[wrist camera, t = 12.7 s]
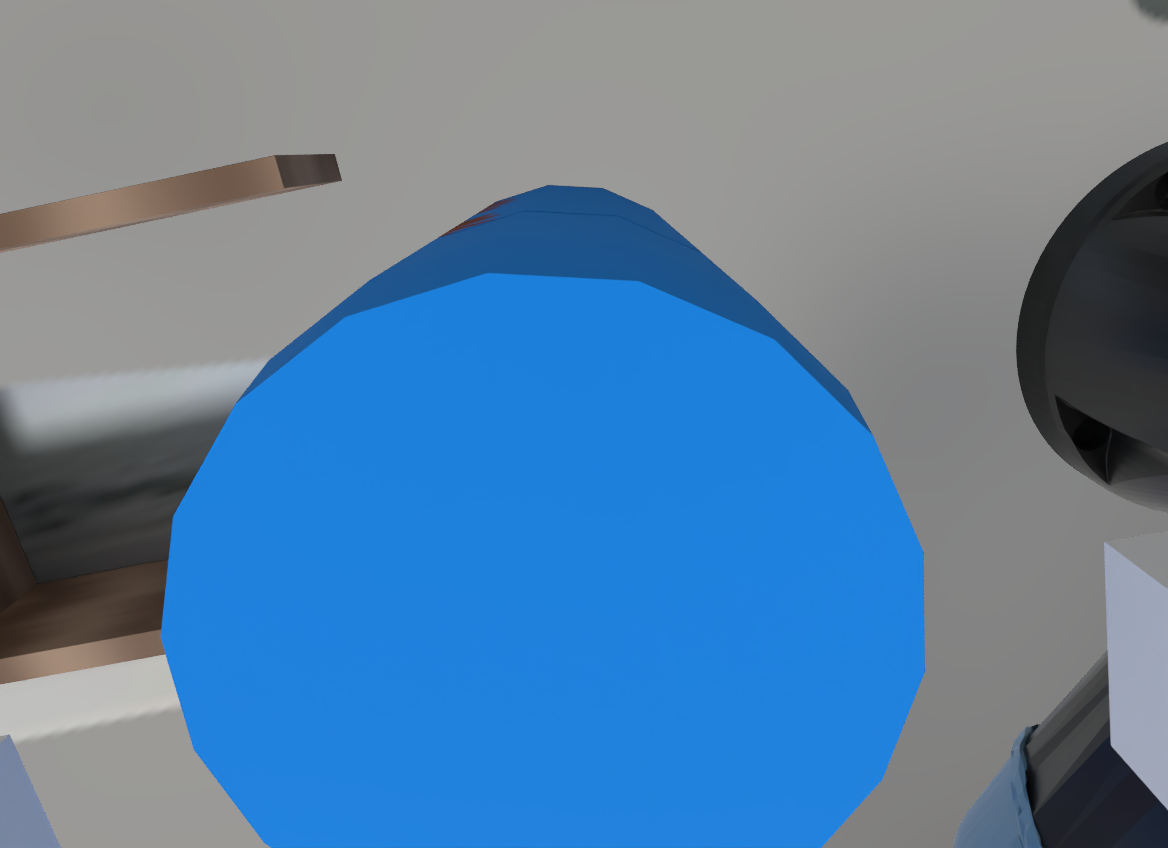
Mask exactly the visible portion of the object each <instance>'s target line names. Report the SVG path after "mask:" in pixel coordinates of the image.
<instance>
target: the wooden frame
mask: <svg viewBox="0 0 1168 848" xmlns="http://www.w3.org/2000/svg"><path fill="white" fill-rule="evenodd" d="M337 181H342V179H341V176H340V172H339V168H338V164H337V161H336V157H335V154H318V155H274V156H269V157H265V158H260V159H256V160H251V161H246V162H241V163H237V164H232V165H227V166H223V167H218V168H213V169H209V170H204V171H199V172H195V173H190V174H185V175H181V176H176V177H171V178H167V179H162V180H157V181H153V182H148V183H143V184H138V185H134V186H129V187H125V188H120V189H115V190H111V191H106V192H101V193H96V194H92V195H87V196H83V197H78V198H73V199H68V200H64V201H59V202H55V203H50V204H45V205H41V206H36V207H31V208H27V209H22V210H17V211H12V212H8V213H3V214H0V253H2V252H6V251H11V250H16V249H20V248H25V247H30V246H34V245H39V244H44V243H49V242H54V241H58V240H63V239H68V238H73V237H77V236H82V235H87V234H91V233H96V232H101V231H106V230H110V229H115V228H120V227H124V226H129V225H134V224H139V223H143V222H148V221H153V220H157V219H163V218H167V217H172V216H177V215H181V214H186V213H191V212H195V211H200V210H205V209H209V208H214V207H219V206H224V205H229V204H233V203H238V202H242V201H247V200H252V199H257V198H261V197H266V196H271V195H276V194H281V193H285V192H290V191H295V190H300V189H304V188H309V187H314V186H319V185H323V184H328V183H333V182H337ZM168 560H169V559H167V560H162V561H157V562H151V563H146V564H141V565H135V566H130V567H125V568H120V569H114V570H109V571H104V572H98V573H93V574H88V575H82V576H77V577H72V578H67V579H61V580H56V581H51V582H45V583H40V584H37V582H36V580H35V578H34V575H33V573H32V571H31V568H30V566H29V564H28V561H27V559H26V556H25V554H24V552H23V549H22V547H21V545H20V542H19V540H18V538H17V535H16V533H15V531H14V528H13V526H12V523H11V521H10V519H9V516H8V514H7V512H6V509H5V507H4V505H3V502H2V500H1V498H0V684H5V683H10V682H16V681H21V680H27V679H32V678H38V677H43V676H49V675H54V674H60V673H65V672H71V671H76V670H82V669H87V668H93V667H98V666H104V665H109V664H114V663H120V662H125V661H131V660H136V659H142V658H147V657H153V656H158V655H164V654H165V650H164V647H163V644H162V640H161V628H162V618H163V609H164V599H165V589H166V580H167V570H168Z"/></svg>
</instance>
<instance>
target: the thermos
mask: <svg viewBox="0 0 1168 848" xmlns="http://www.w3.org/2000/svg"><path fill="white" fill-rule="evenodd" d="M161 640H162V644H163V647H164V650H165V654H166V657H167V660H168V664H169V667H170V671H171V674H172V677H173V681H174V684H175V687H176V691H177V694H178V697H179V701H180V704H181V708H182V711H183V714H184V718H185V721H186V724H187V728H188V731H189V734H190V737H191V741H192V745H193V748H194V750H195V752H196V753H197V754H198V756H199V757H200V758H201V760H202V761H203V762H204V764H205V765H206V766H207V768H208V769H209V770H210V771H211V773H212V774H213V775H214V777H215V778H216V779H217V781H218V782H219V783H220V785H221V786H222V787H223V789H224V790H225V791H226V793H227V794H228V795H229V797H230V798H231V799H232V801H233V802H234V803H235V805H236V806H237V807H238V809H239V810H240V811H241V813H242V814H243V815H244V817H245V818H246V819H247V821H248V822H249V823H250V824H251V826H252V827H253V828H254V830H255V831H256V832H257V834H258V835H259V836H260V838H261V839H262V840H263V842H264V843H265V844H267V845H268V846H270V847H271V848H821V847H822V846H823V845H824V844H825V843H826V842H827V841H828V839H829V838H830V837H831V836H832V835H833V834H834V833H835V832H836V831H837V829H838V828H839V827H840V826H841V825H842V824H843V823H844V822H845V821H846V819H847V818H848V817H849V816H850V815H851V814H852V813H853V812H854V810H855V809H856V808H857V807H858V806H859V805H860V803H862V801H863V800H864V799H865V798H866V797H867V796H868V795H869V794H870V792H871V791H872V790H873V789H874V788H875V787H876V786H877V785H878V784H879V782H880V781H881V780H882V779H883V776H884V774H885V771H886V769H887V766H888V764H889V761H890V758H891V756H892V753H893V751H894V748H895V746H896V743H897V741H898V738H899V736H900V733H901V730H902V728H903V726H904V723H905V720H906V718H907V715H908V713H909V710H910V708H911V705H912V703H913V700H914V698H915V695H916V693H917V690H918V688H919V685H920V683H921V680H922V678H923V675H924V672H925V654H924V653H925V652H924V651H925V647H924V552H923V550H922V548H921V546H920V543H919V541H918V539H917V536H916V534H915V532H914V529H913V527H912V525H911V522H910V520H909V518H908V515H907V513H906V511H905V509H904V507H903V504H902V502H901V499H900V497H899V495H898V492H897V490H896V488H895V485H894V483H893V481H892V479H891V476H890V474H889V472H888V469H887V467H886V465H885V462H884V460H883V458H882V455H881V453H880V451H879V448H878V446H877V444H876V442H875V439H874V437H873V435H872V433H871V431H870V429H869V428H868V426H867V424H866V422H865V420H864V419H863V417H862V415H861V413H860V411H859V409H858V408H857V406H856V404H855V402H854V400H853V399H852V397H851V395H850V393H849V391H848V390H847V389H846V388H845V387H844V386H843V385H842V384H841V383H840V382H839V381H838V380H837V379H836V378H835V377H834V376H833V375H832V374H831V373H830V372H829V371H828V370H827V369H826V368H825V367H824V366H823V365H822V364H821V363H820V362H819V361H818V360H817V359H816V358H815V357H814V356H813V355H812V354H811V353H810V352H809V351H808V350H807V349H806V348H805V347H804V346H803V345H802V344H800V342H799V341H798V340H797V339H796V338H794V337H793V336H792V335H791V334H790V333H789V332H788V331H787V330H786V329H785V328H784V327H783V326H782V325H781V324H780V323H779V322H778V321H777V320H776V319H775V318H774V317H773V316H772V315H771V314H770V313H769V312H768V311H767V310H766V309H765V308H764V307H763V306H762V305H761V304H760V303H759V302H758V301H757V300H756V299H754V298H753V297H752V296H751V295H750V294H749V293H748V292H746V291H745V290H744V289H743V288H742V287H741V286H739V285H738V284H737V283H736V282H735V281H734V280H732V279H731V278H730V277H729V276H728V275H727V274H726V273H724V272H723V271H722V270H721V269H720V268H719V267H717V266H716V265H715V264H714V263H713V262H712V261H711V260H709V259H708V258H707V257H706V256H705V255H704V254H702V253H701V252H700V251H699V250H698V249H697V248H696V247H695V246H693V245H692V244H691V243H690V242H689V241H688V240H686V239H685V238H684V237H683V236H682V235H681V234H680V233H678V232H677V231H676V230H675V229H674V228H673V227H671V226H670V225H669V224H668V223H667V222H666V221H665V220H663V219H662V218H661V217H660V216H659V215H658V214H656V213H655V212H654V211H653V210H651V209H649V208H647V207H644V206H642V205H640V204H638V203H635V202H633V201H631V200H628V199H626V198H624V197H622V196H619V195H617V194H615V193H613V192H610V191H608V190H606V189H603V188H590V187H572V186H554V185H547V186H544V187H541V188H538V189H535V190H532V191H528V192H525V193H522V194H519V195H516V196H512V197H509V198H506V199H503V200H500V201H497V202H495V203H493V204H492V205H490V206H489V207H487V208H485V209H484V210H482V211H480V212H479V213H477V214H476V215H474V216H472V217H471V218H469V219H468V220H466V221H464V222H463V223H461V224H460V225H458V226H456V227H455V228H453V229H451V230H450V231H448V232H447V233H445V234H444V235H442V236H440V237H439V238H437V239H436V240H434V241H432V242H431V243H429V244H428V245H426V246H424V247H423V248H421V249H419V250H418V251H417V252H415V253H413V254H411V255H410V256H408V257H406V258H405V259H403V260H402V261H400V262H398V263H397V264H395V265H394V266H392V267H390V268H389V269H387V270H385V271H384V272H383V273H381V274H379V275H377V276H376V277H374V278H373V279H371V280H369V281H368V282H367V283H366V284H364V285H363V286H362V287H361V288H359V289H358V290H357V291H356V292H354V293H353V294H352V295H351V296H349V297H348V298H347V299H346V300H344V301H343V302H342V303H340V304H339V305H338V306H337V307H335V308H334V309H333V310H332V311H331V312H329V313H328V314H327V315H325V316H324V317H323V318H322V319H320V320H319V321H318V322H317V323H315V324H314V325H313V326H312V327H310V328H309V329H308V330H307V331H305V332H304V333H303V334H302V335H300V336H299V337H298V338H297V339H295V340H294V341H293V342H292V343H290V344H289V345H288V346H286V347H285V348H284V349H283V350H282V351H280V352H279V353H278V354H277V355H275V356H274V357H273V358H271V359H270V360H269V361H268V362H267V364H266V365H265V366H264V368H263V369H262V370H261V372H260V373H259V374H258V375H257V377H256V378H255V379H254V381H253V382H252V383H251V385H250V386H249V387H248V388H247V390H246V391H245V392H244V394H243V395H242V396H241V398H240V399H239V400H238V402H237V403H236V404H235V406H234V408H233V410H232V411H231V413H230V415H229V417H228V419H227V420H226V422H225V424H224V426H223V428H222V429H221V431H220V433H219V435H218V437H217V438H216V440H215V442H214V444H213V446H212V447H211V449H210V451H209V453H208V455H207V456H206V458H205V460H204V462H203V464H202V465H201V467H200V469H199V471H198V473H197V474H196V476H195V478H194V480H193V482H192V483H191V485H190V487H189V489H188V491H187V492H186V494H185V496H184V498H183V499H182V501H181V503H180V505H179V507H178V508H177V510H176V512H175V514H174V516H173V522H172V531H171V541H170V551H169V560H168V570H167V580H166V589H165V599H164V609H163V618H162V628H161Z"/></svg>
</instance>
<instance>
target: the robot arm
mask: <svg viewBox="0 0 1168 848" xmlns="http://www.w3.org/2000/svg"><path fill="white" fill-rule="evenodd" d="M1016 347H1017V348H1016V354H1017V368H1018V376H1019V381H1020V386H1021V390H1022V393H1023V397H1024V400H1025V403H1026V406H1027V408H1028V411H1029V413H1030V415H1031V417H1032V419H1033V421H1034V423H1035V425H1036V427H1037V428H1038V430H1039V431H1040V433H1041V435H1042V436H1043V437H1044V439H1045V440H1046V441H1047V443H1048V444H1049V445H1050V446H1051V447H1052V449H1053V450H1054V451H1055V452H1056V453H1057V454H1058V455H1059V456H1060V457H1061V458H1062V459H1063V460H1064V461H1066V462H1067V463H1068V464H1069V465H1071V466H1072V467H1073V468H1074V469H1076V470H1077V471H1079V472H1080V473H1082V474H1084V475H1086V476H1087V477H1088V478H1090V479H1091V480H1093V481H1094V482H1096V483H1097V484H1099V485H1101V486H1102V487H1104V488H1105V489H1107V490H1108V491H1110V492H1112V493H1114V494H1116V495H1118V496H1120V497H1122V498H1124V499H1126V500H1129V501H1131V502H1133V503H1136V504H1139V505H1142V506H1144V507H1148V508H1150V509H1154V510H1158V511H1162V512H1167V513H1168V142H1166V143H1164V144H1162V145H1159V146H1157V147H1155V148H1153V149H1151V150H1149V151H1147V152H1145V153H1143V154H1141V155H1139V156H1138V157H1136V158H1134V159H1132V160H1131V161H1129V162H1127V163H1126V164H1124V165H1123V166H1122V167H1120V168H1119V169H1117V170H1116V171H1114V172H1113V173H1112V174H1110V175H1109V176H1108V177H1107V178H1105V179H1104V180H1103V181H1102V182H1100V183H1099V184H1098V185H1097V186H1096V187H1095V188H1094V189H1092V190H1091V191H1090V192H1089V193H1088V194H1087V195H1086V196H1085V197H1084V198H1083V199H1082V200H1081V201H1080V202H1079V203H1078V204H1077V205H1076V206H1075V208H1074V209H1073V210H1072V211H1071V212H1070V213H1069V214H1068V216H1067V217H1066V218H1065V219H1064V221H1063V222H1062V223H1061V225H1060V226H1059V227H1058V229H1057V230H1056V232H1055V233H1054V235H1053V236H1052V238H1051V239H1050V241H1049V242H1048V244H1047V246H1046V247H1045V249H1044V251H1043V253H1042V254H1041V256H1040V259H1039V260H1038V263H1037V264H1036V266H1035V269H1034V271H1033V273H1032V276H1031V278H1030V281H1029V284H1028V287H1027V290H1026V292H1025V295H1024V299H1023V303H1022V307H1021V311H1020V316H1019V322H1018V330H1017V346H1016ZM1104 553H1105V583H1106V584H1105V585H1106V613H1107V614H1106V615H1107V645H1108V650H1107V651H1106V652H1105V653H1104V654H1103V655H1102V657H1101V658H1100V659H1099V660H1098V661H1097V662H1096V663H1095V665H1094V666H1093V667H1092V668H1091V669H1090V670H1089V671H1088V672H1087V674H1086V675H1085V676H1084V677H1083V678H1082V679H1081V681H1080V682H1079V683H1078V684H1077V685H1076V686H1075V687H1074V689H1073V690H1072V691H1071V692H1070V693H1069V694H1068V695H1067V696H1066V697H1065V698H1064V699H1063V701H1062V702H1061V703H1060V704H1059V705H1058V706H1057V707H1056V708H1055V709H1054V710H1053V712H1052V713H1051V714H1050V715H1049V716H1048V717H1047V718H1046V719H1045V720H1044V721H1043V722H1042V724H1041V725H1040V724H1037V725H1034V726H1032V727H1026V728H1025V729H1024V730H1023V732H1021V733H1020V734H1019V736H1018V737H1017V739H1016V740H1015V741H1014V744H1013V747H1012V751H1011V757H1010V758H1009V760H1008V761H1007V762H1006V763H1005V765H1004V766H1003V767H1002V768H1001V770H1000V771H999V772H998V774H997V775H996V776H995V777H994V779H993V780H992V781H991V782H990V784H989V785H988V786H987V788H986V789H985V790H984V791H983V793H982V794H981V795H980V796H979V798H978V799H977V800H976V802H975V803H974V804H973V806H972V807H971V808H970V809H969V811H968V812H967V814H966V815H965V817H964V819H963V820H962V822H961V824H960V826H959V829H958V832H957V834H956V837H955V842H954V847H953V848H1168V530H1166V531H1160V532H1155V533H1149V534H1143V535H1138V536H1132V537H1127V538H1121V539H1115V540H1109V541H1104ZM0 848H61V847H60V845H59V843H58V840H57V838H56V836H55V834H54V832H53V829H52V828H51V825H50V823H49V821H48V818H47V816H46V814H45V812H44V810H43V807H42V805H41V803H40V801H39V799H38V797H37V794H36V792H35V790H34V788H33V785H32V783H31V781H30V779H29V777H28V774H27V772H26V770H25V768H24V766H23V764H22V761H21V759H20V757H19V755H18V752H17V750H16V748H15V746H14V744H13V741H12V739H11V737H10V735H4V736H0Z"/></svg>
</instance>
